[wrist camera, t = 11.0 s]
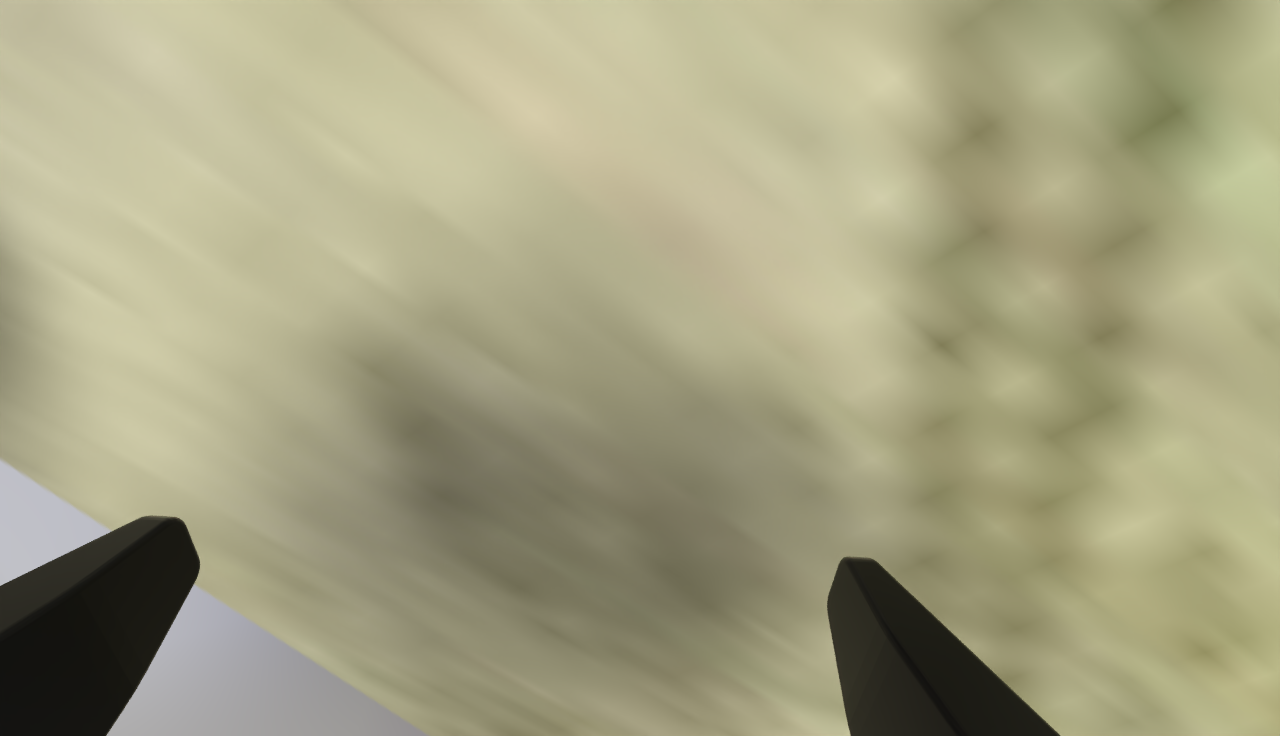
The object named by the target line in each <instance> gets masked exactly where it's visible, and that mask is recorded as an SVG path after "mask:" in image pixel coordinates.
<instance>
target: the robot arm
mask: <svg viewBox="0 0 1280 736" xmlns="http://www.w3.org/2000/svg"><path fill="white" fill-rule="evenodd" d="M199 569H200V560H199V556H198V554H197V551H196V549H195V546H194V544H193V542H192V539H191V537H190V534H189V532H188V529H187V527H186V525H185V523H184V522H183V521H182V520H181V519H180V518H177V517H167V516H145V517H141V518H139V519H137V520H135V521H132V522H130V523H128V524H126V525H124V526H122V527H120V528H118V529H116V530H114V531H112V532H110V533H108V534H106V535H104V536H102V537H100V538H98V539H96V540H93V541H91V542H89V543H87V544H85V545H83V546H81V547H79V548H77V549H75V550H73V551H71V552H69V553H67V554H65V555H63V556H61V557H59V558H57V559H55V560H52V561H50V562H48V563H46V564H44V565H42V566H40V567H38V568H36V569H34V570H32V571H30V572H28V573H26V574H24V575H22V576H20V577H18V578H16V579H13V580H12V581H9V582H7V583H5V584H3V585H1V586H0V736H106V735H107V734H108V732H109V731H110V729H111V728H112V726H113V725H114V723H115V722H116V720H117V719H118V717H119V716H120V714H121V713H122V711H123V710H124V708H125V706H126V705H127V703H128V702H129V700H130V698H131V697H132V695H133V694H134V692H135V691H136V689H137V687H138V685H139V684H140V682H141V680H142V678H143V677H144V675H145V673H146V671H147V670H148V668H149V666H150V664H151V662H152V660H153V658H154V657H155V655H156V653H157V651H158V649H159V647H160V646H161V644H162V642H163V640H164V638H165V636H166V635H167V633H168V631H169V629H170V627H171V625H172V623H173V622H174V620H175V618H176V616H177V614H178V612H179V610H180V609H181V607H182V605H183V603H184V601H185V599H186V598H187V596H188V594H189V592H190V590H191V588H192V586H193V585H194V583H195V581H196V579H197V576H198V573H199ZM827 610H828V618H829V623H830V629H831V634H832V640H833V645H834V651H835V657H836V662H837V668H838V673H839V679H840V685H841V690H842V696H843V701H844V707H845V712H846V717H847V722H848V726H849V730H850V734H851V736H1060V735H1059V734H1058V733H1057V732H1056V731H1055V730H1054V729H1053V728H1052V727H1051V726H1050V725H1049V724H1048V723H1047V722H1046V721H1045V720H1043V719H1042V718H1041V717H1040V716H1039V715H1038V714H1037V713H1036V712H1035V711H1034V710H1033V709H1032V708H1031V707H1030V706H1029V705H1028V704H1027V703H1026V702H1024V701H1023V700H1022V699H1021V698H1020V697H1019V696H1018V695H1017V694H1016V693H1015V692H1014V691H1013V690H1012V689H1011V688H1010V687H1009V686H1008V685H1007V684H1005V683H1004V682H1003V681H1002V680H1001V679H1000V678H999V677H998V676H997V675H996V674H995V673H994V672H993V671H992V670H991V669H990V668H989V667H987V666H986V665H985V664H984V663H983V662H982V661H981V660H980V659H979V658H978V657H977V656H976V655H975V654H974V653H973V652H972V651H971V650H970V649H968V648H967V647H966V646H965V645H964V644H963V643H962V642H961V641H960V640H959V639H958V638H957V637H956V636H955V635H954V634H953V633H952V632H951V631H949V630H948V629H947V628H946V627H945V626H944V625H943V624H942V623H941V622H940V621H939V620H938V619H937V618H936V617H935V616H934V615H933V614H932V613H930V612H929V611H928V610H927V609H926V608H925V607H924V606H923V605H922V604H921V603H920V602H919V601H918V600H917V599H916V598H915V597H914V596H913V595H911V594H910V593H909V592H908V591H907V590H906V589H905V588H904V587H903V586H902V585H901V584H900V583H899V582H898V581H897V580H896V579H895V578H894V577H892V576H891V575H890V574H889V573H888V572H887V571H886V570H885V569H884V568H883V567H882V566H881V565H880V564H879V563H878V562H876V561H875V560H873V559H871V558H861V557H844V558H843V559H842V560H841V561H840V563H839V565H838V568H837V571H836V574H835V577H834V580H833V583H832V586H831V589H830V592H829V595H828V601H827Z"/></svg>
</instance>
